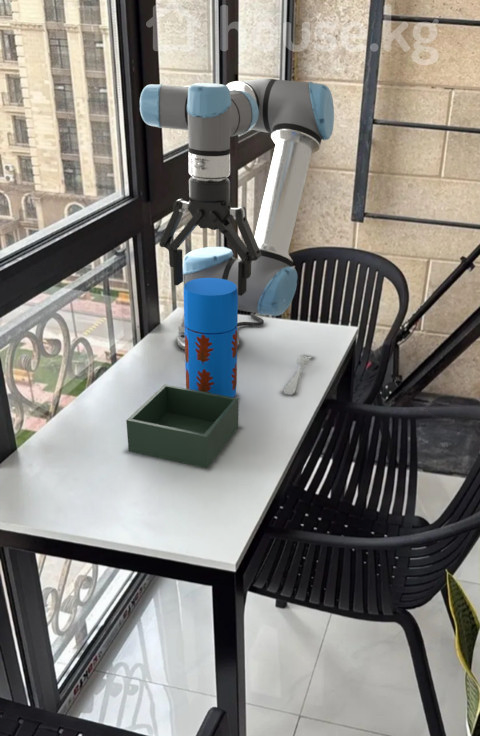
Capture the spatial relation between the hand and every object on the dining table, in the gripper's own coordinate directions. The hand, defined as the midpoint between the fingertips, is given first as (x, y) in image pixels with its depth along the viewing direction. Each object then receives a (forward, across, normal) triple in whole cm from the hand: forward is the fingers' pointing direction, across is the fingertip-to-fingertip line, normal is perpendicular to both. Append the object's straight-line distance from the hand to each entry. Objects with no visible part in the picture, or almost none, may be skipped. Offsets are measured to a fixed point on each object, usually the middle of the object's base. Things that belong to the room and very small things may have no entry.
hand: (210, 288), depth 150 cm
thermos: (+25, 0, 0) cm, 25 cm away
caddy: (+25, +2, -18) cm, 30 cm away
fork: (+25, +14, +19) cm, 34 cm away
